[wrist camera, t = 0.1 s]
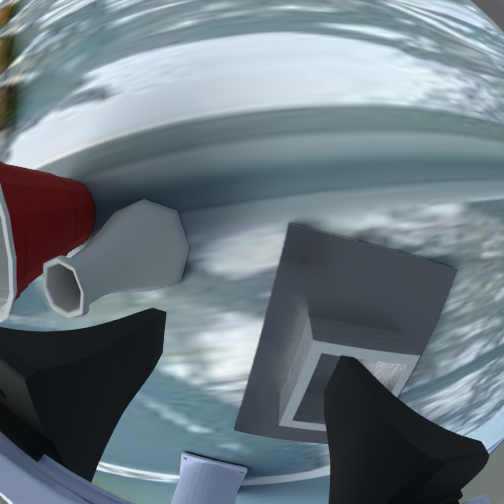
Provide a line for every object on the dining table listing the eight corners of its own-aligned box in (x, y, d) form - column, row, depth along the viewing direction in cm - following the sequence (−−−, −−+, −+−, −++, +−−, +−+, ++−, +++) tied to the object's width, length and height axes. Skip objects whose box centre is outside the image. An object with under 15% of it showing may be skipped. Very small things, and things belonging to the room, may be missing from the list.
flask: (190, 197, 20) (111, 211, 10) (193, 293, 21) (133, 368, 11) (108, 200, 20) (13, 216, 11) (114, 285, 22) (36, 339, 12)
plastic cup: (73, 294, 23) (-17, 350, 11) (26, 204, 21) (-66, 223, 10) (145, 230, 20) (27, 277, 9) (85, 128, 19) (-27, 110, 7)
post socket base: (363, 438, 23) (370, 469, 19) (235, 423, 24) (227, 456, 20) (450, 266, 18) (481, 283, 14) (288, 222, 19) (290, 232, 15)
